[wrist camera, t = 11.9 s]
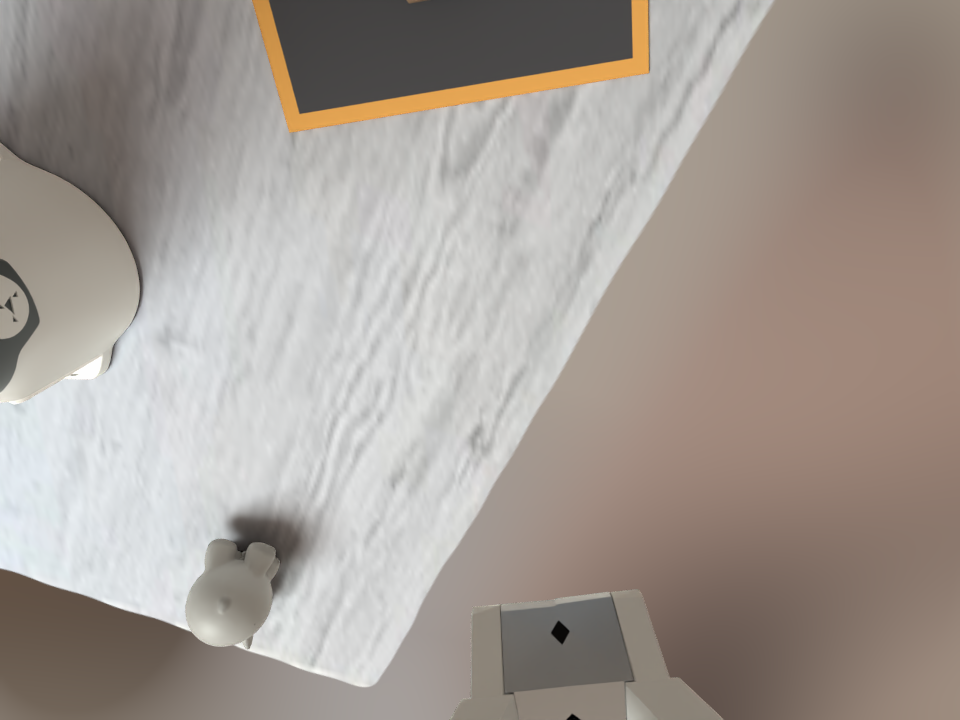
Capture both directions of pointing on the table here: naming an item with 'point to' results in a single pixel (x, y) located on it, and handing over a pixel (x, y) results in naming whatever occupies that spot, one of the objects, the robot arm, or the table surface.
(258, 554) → the round bodied animal figurine
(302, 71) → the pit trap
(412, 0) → the block
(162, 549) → the table surface
